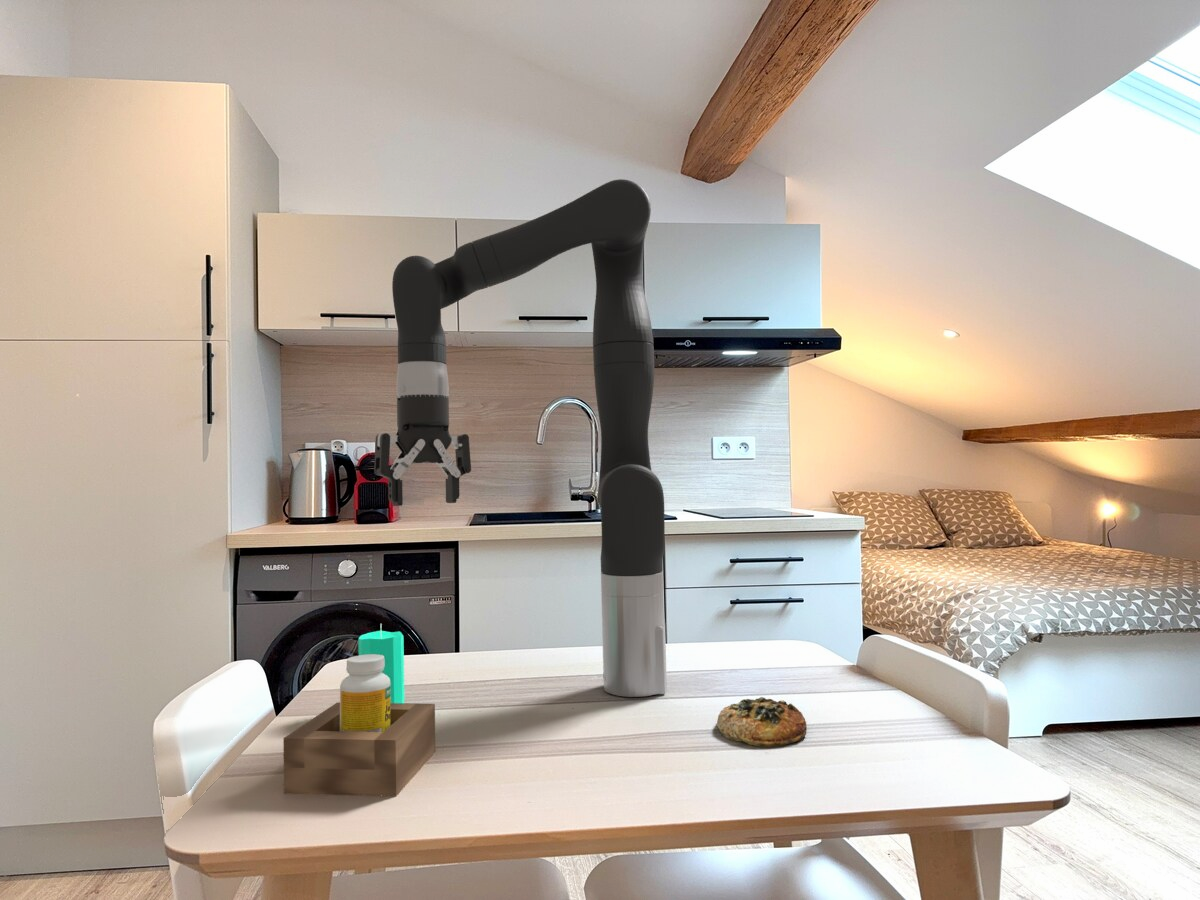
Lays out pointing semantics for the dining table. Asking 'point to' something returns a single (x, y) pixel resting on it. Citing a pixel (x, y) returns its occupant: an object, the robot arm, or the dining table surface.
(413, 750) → the walnut tray
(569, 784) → the dining table surface
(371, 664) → the supplement bottle
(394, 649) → the candle
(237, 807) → the dining table surface
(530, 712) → the dining table surface
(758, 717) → the bread roll
